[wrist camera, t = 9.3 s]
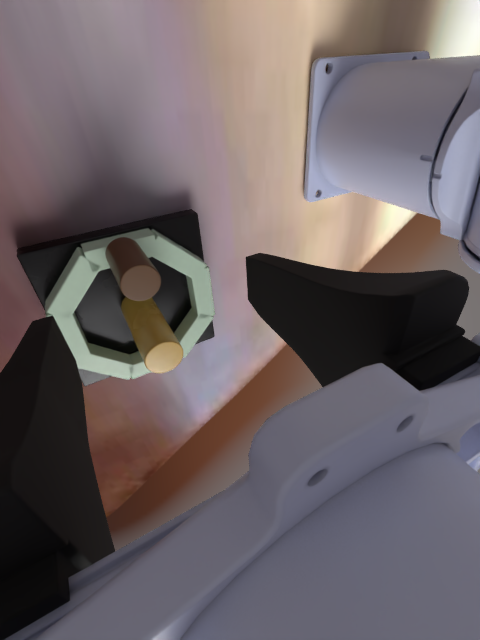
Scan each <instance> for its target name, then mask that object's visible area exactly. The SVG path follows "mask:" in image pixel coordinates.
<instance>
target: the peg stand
mask: <svg viewBox="0 0 480 640" xmlns="http://www.w3.org/2000/svg"><path fill="white" fill-rule="evenodd" d="M146 228H149V229H150V230H152V229H154V230H156V231H157V232H159V233H160V234H162V235H164V236H165V237H167V238H169V239H170V240H172V241H173V242H175V243H177V244H178V245H180V246H182V247H183V248H185V249H187V250H188V251H190V252H191V253H193V254H195V255H196V256H198V257H200V258H201V259H202V260H203V261H204V258H203V250H202V243H201V236H200V229H199V222H198V215H197V213H196V212H195V211H193V210H192V209H189V210H185V211H180V212H176V213H171V214H167V215H163V216H158V217H154V218H149V219H145V220H141V221H136V222H132V223H127V224H123V225H119V226H114V227H110V228H105V229H101V230H97V231H92V232H88V233H83V234H79V235H75V236H70V237H66V238H61V239H57V240H53V241H48V242H44V243H39V244H35V245H31V246H26V247H22V248H18V249H17V257H18V259H19V261H20V263H21V265H22V267H23V269H24V271H25V273H26V275H27V277H28V279H29V281H30V282H31V284H32V286H33V288H34V290H35V292H36V294H37V296H38V298H39V300H40V302H41V304H42V306H43V308H44V310H45V305H46V304H45V301H46V299H47V298H48V296H49V294H50V293H51V291H52V289H53V287H54V286H55V284H56V282H57V281H58V279H59V277H60V276H61V274H62V272H63V270H64V269H65V267H66V265H67V264H68V262H69V260H70V258H71V257H72V255H73V253H74V252H75V250H76V248H77V247H80V248H82V246H81V244H83V243H87V242H91V241H95V240H99V239H104V238H108V237H112V236H116V235H121V234H125V233H129V232H133V231H138V230H142V229H146ZM149 260H150V261H151V263H152V264H153V265H154V267H155V268H156V270H157V271H158V272H159V274H160V277H161V285H160V288H159V290H158V292H157V293H156V294H155V295H154V296H153V297H151V298H149V299H147V300H144V301H134V300H131V299H129V298H127V297H126V296H125V295H124V294H123V293H122V291H121V289H120V287H119V285H118V283H117V281H116V279H115V277H114V274H113V272H112V270H111V268H109V269H105V270H101V271H99V272H98V273H97V275H96V277H95V278H94V280H93V282H92V283H91V285H90V287H89V288H88V290H87V292H86V293H85V295H84V296H83V298H82V300H81V301H80V303H79V305H78V306H77V308H76V310H75V311H74V313H75V315H76V317H77V319H78V322H79V324H80V326H81V328H82V331H83V333H84V335H85V337H86V339H87V342H88V343H91V344H95V345H98V346H101V347H105V348H108V349H112V350H115V351H119V352H122V353H126V354H132V353H135V352H138V351H139V352H140V354H141V357H142V359H143V361H144V364H145V366H146V368H147V369H148V370H150V371H151V372H154V373H165V372H168V371H171V370H172V369H174V368H175V367H177V366H178V365H179V363H180V362H181V360H182V358H183V348H182V346H181V345H180V343H179V341H178V340H177V338H176V336H175V335H174V332H175V331H176V329H177V328H178V327H179V325H180V324H181V322H182V321H183V319H184V318H185V316H186V315H187V313H188V312H189V311H190V309H191V308H192V306H191V301H190V295H189V290H188V284H187V279H186V275H185V274H183V273H181V272H179V271H177V270H176V269H174V268H172V267H170V266H168V265H166V264H165V263H163V262H161V261H159V260H157V259H155V258H154V257H150V258H149ZM213 337H214V329H213V322H212V321H211V322H210V324H209V325H208V326H207V328H206V329H205V331H204V332H203V334H202V335H201V336H200V338H199V339H198V341H197V342H196V343H195V344H197V343H200V342H202V341H205V340H208V339H210V338H213ZM78 370H79V374H80V378H81V381H82V383H83V385H84V386H87V385H90V384H92V383H95V382H98V381H100V380H103V379H106V378H108V377H111V376H110V375H105V374H101V373H97V372H92V371H88V370H84V369H79V368H78Z"/></svg>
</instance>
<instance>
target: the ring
mask: <svg viewBox="0 0 480 640" xmlns="http://www.w3.org/2000/svg"><path fill="white" fill-rule="evenodd" d="M81 246H82V248H80V247H77V248H76V250H75V252H74V253H73V255H72V257H71V258H70V260H69V262H68V264H67V265H66V267H65V269H64V270H63V272H62V274H61V276H60V277H59V279H58V281H57V282H56V284H55V286H54V287H53V289H52V291H51V293H50V294H49V296H48V298H47V299H46V301H45V304H46V305H45V312H46V317H49V316H52V315H53V317H54V318H55V320H56V322H57V324H58V326H59V328H60V330H61V332H62V334H63V336H64V338H65V340H66V342H67V344H68V346H69V348H70V350H71V352H72V354H73V356H74V358H75V360H76V363H77V366H78V368H79V369H84V370H88V371H92V372H97V373H101V374H105V375H110V376H114V377H118V378H123V379H127V380H129V379H130V377H131V379H135V378H137V377H140V376H142V375H145V374H147V373H150V372H151V371H150V370H148V369H147V368H146V366H145V364H144V361H143V359H142V357H141V354H140V352H139V351H138V352H135V353H132V354H126V353H122V352H119V351H115V350H112V349H108V348H105V347H101V346H98V345H95V344H91V343H88V342H87V339H86V337H85V335H84V333H83V331H82V328H81V326H80V324H79V322H78V319H77V317H76V315H75V313H74V311H75V310H76V308H77V306H78V305H79V303H80V301H81V300H82V298H83V296H84V295H85V293H86V292H87V290H88V288H89V287H90V285H91V283H92V282H93V280H94V278H95V277H96V275H97V273H98V272H99V271H101V270H105V269H109V268H111V270H112V272H113V274H114V277H115V279H116V281H117V283H118V285H119V287H120V289H121V291H122V293H123V294H124V295H125V296H126V297H127V298H129V299H131V300H134V301H144V300H147V299H149V298H151V297H153V296H154V295H155V294H156V293H157V292H158V290H159V288H160V285H161V277H160V274H159V272H158V271H157V270H156V268H155V267H154V265H153V264H152V263H151V261H150V260H149V258H150V257H154V258H155V259H157V260H159V261H161V262H163V263H165V264H166V265H168V266H170V267H172V268H174V269H176V270H177V271H179V272H181V273H183V274H185V275H186V279H187V284H188V290H189V295H190V301H191V306H192V308H191V309H190V311H189V312H188V313H187V315H186V316H185V318H184V319H183V321H182V322H181V324H180V325H179V327H178V328H177V329H176V331H175V332H174V335H175V336H176V338H177V340H178V341H179V343H180V345H181V346H182V348H183V357H184V358H185V357H186V356H187V355H188V353H189V352H190V350H191V349H192V348H193V346H194V345H195V343H196V342H197V341H198V339H199V338H200V336H201V335H202V334H203V332H204V331H205V329H206V328H207V326H208V325H209V324H210V322H211V321H212V319H213V318H214V317H213V315H215V311H214V303H213V295H212V288H211V280H210V273H209V267H208V266H207V264H206V263H205V262H204V261H203V260H202V259H201V258H200V257H198V256H196V255H195V254H193V253H191V252H190V251H188V250H187V249H185V248H183V247H182V246H180V245H178V244H177V243H175V242H173V241H172V240H170V239H169V238H167V237H165V236H164V235H162V234H160V233H159V232H157V231H156V230H154V229H152V230H150V229H149V228H146V229H142V230H138V231H133V232H129V233H125V234H121V235H116V236H112V237H108V238H104V239H99V240H95V241H91V242H87V243H83V244H81Z"/></svg>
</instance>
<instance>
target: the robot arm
mask: <svg viewBox="0 0 480 640" xmlns="http://www.w3.org/2000/svg"><path fill="white" fill-rule="evenodd" d="M429 58H430V56H429V52H428V51H416V52H400V53H385V54H370V55H355V56H340V57H324V58H318V59H316V60H315V61H314V62H313V64H312V68H311V83H310V100H309V117H308V135H307V152H306V170H305V187H304V198H305V200H306V201H308V202H314V201H318V200H322V199H326V198H330V197H334V196H338V195H342V194H346V193H350V192H355V193H358V194H361V195H364V196H368V197H371V198H374V199H377V200H380V201H383V202H386V203H389V204H393V205H396V206H399V207H402V208H405V209H408V210H411V211H414V212H418V213H421V214H424V215H427V216H430V217H434V218H436V219H439V220H440V221H441V229H440V233H441V234H443V235H446V236H449V237H452V238H455V239H458V240H459V244H458V250H459V254H460V257H461V258H462V260H463V261H464V262H465V263H466V264H467V265H468V266H469V267H470V268H471V269H473V270H474V271H476V272H477V273H479V274H480V55H477V56H463V57H448V58H434V59H429ZM326 65H328V71H327V73H326V70H325V68H326ZM317 190H318V193H317V195H316V192H317ZM246 270H247V288H248V300H249V302H250V303H251V304H252V306H253V307H254V309H255V310H256V311H257V313H258V314H259V315H260V317H261V318H262V319H263V320H264V321H265V322H266V323H267V324H268V325H269V326H270V327H271V328H272V329H273V330H274V331H275V332H276V333H277V334H278V335H279V336H280V337H281V338H282V339H283V340H284V341H285V342H286V343H287V344H288V345H289V346H290V347H291V348H292V349H293V350H294V351H295V352H296V353H297V354H298V356H299V357H300V358H301V359H302V360H303V362H304V363H305V364H306V365H307V367H308V368H309V369H310V371H311V372H312V373H313V374H314V376H315V377H316V378H317V380H318V381H319V383H320V384H321V385H322V387H323V388H321V389H319V390H317V391H315V392H313V393H311V394H309V395H307V396H305V397H303V398H301V399H299V400H297V401H295V402H293V403H291V404H289V405H287V406H285V407H283V408H282V409H281V410H279V411H278V412H276V413H275V414H273V415H272V416H271V417H269V418H268V419H267V420H266V421H265V422H264V424H263V425H262V426H261V427H260V428H259V430H258V431H257V432H256V434H255V435H254V437H253V441H252V444H251V448H250V452H249V455H248V456H249V467H250V470H249V471H248V472H247V473H245V474H244V475H243V476H241V477H240V478H239V479H238V480H236V481H235V482H234V483H233V484H231V485H230V486H229V487H227V488H226V489H225V490H223V491H222V492H220V493H218V494H216V495H214V496H213V497H211V498H209V499H207V500H206V501H204V502H202V503H200V504H199V505H197V506H195V507H193V508H191V509H190V510H188V511H186V512H184V513H183V514H181V515H179V516H177V517H175V518H174V519H172V520H170V521H168V522H167V523H165V524H163V525H161V526H159V527H158V528H156V529H154V530H152V531H151V532H149V533H147V534H145V535H143V536H142V537H140V538H138V539H136V540H135V541H133V542H131V543H129V544H128V545H126V546H124V547H122V548H121V549H119V550H117V551H115V549H114V545H113V542H112V538H111V535H110V531H109V527H108V523H107V520H106V515H105V512H104V508H103V504H102V500H101V496H100V492H99V488H98V484H97V480H96V475H95V471H94V467H93V462H92V458H91V454H90V449H89V443H88V435H87V425H86V416H85V406H84V397H83V388H82V382H81V378H80V374H79V370H78V366H77V363H76V360H75V358H74V356H73V354H72V352H71V350H70V348H69V346H68V344H67V342H66V340H65V338H64V336H63V334H62V332H61V330H60V328H59V326H58V324H57V322H56V320H55V318H54V317H53V315H52V316H49V317H45V318H42V319H39V320H35V321H32V323H31V325H30V326H29V328H28V330H27V331H26V333H25V335H24V337H23V338H22V340H21V342H20V344H19V345H18V347H17V349H16V350H15V352H14V354H13V355H12V357H11V358H10V360H9V362H8V363H7V364H6V366H5V367H4V369H3V370H2V372H1V373H0V640H480V474H479V473H478V472H477V470H479V469H480V333H478V334H477V335H476V336H474V337H473V339H472V340H471V341H470V340H468V339H466V338H465V337H463V336H462V335H464V333H465V330H464V329H463V328H461V327H459V326H457V325H456V323H457V321H458V319H459V317H460V314H461V312H462V310H463V307H464V305H465V303H466V300H467V297H468V292H469V286H468V281H467V280H466V279H465V278H464V277H463V276H460V275H458V274H456V273H453V272H451V271H448V270H436V271H425V272H415V273H365V272H352V271H344V270H336V269H330V268H325V267H320V266H314V265H310V264H306V263H301V262H297V261H293V260H289V259H285V258H281V257H277V256H273V255H268V254H262V253H258V254H254V255H251V256H248V257H246Z"/></svg>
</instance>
